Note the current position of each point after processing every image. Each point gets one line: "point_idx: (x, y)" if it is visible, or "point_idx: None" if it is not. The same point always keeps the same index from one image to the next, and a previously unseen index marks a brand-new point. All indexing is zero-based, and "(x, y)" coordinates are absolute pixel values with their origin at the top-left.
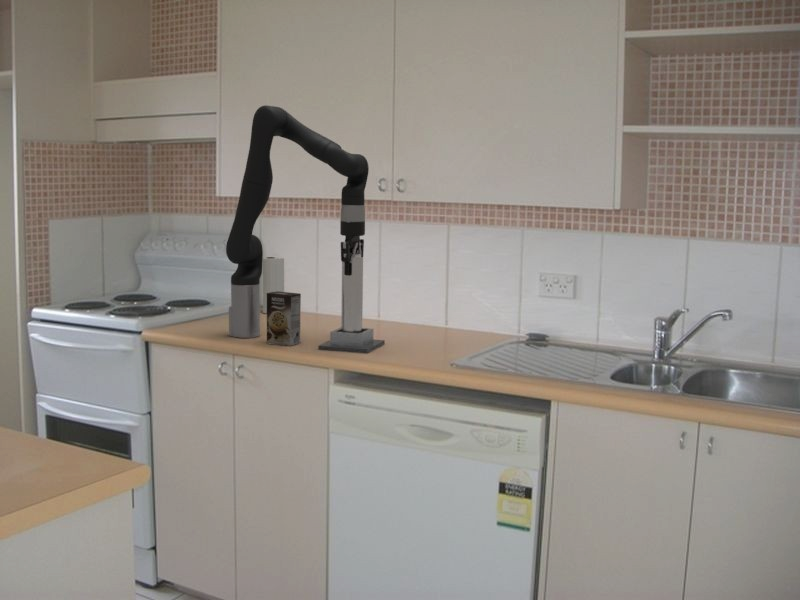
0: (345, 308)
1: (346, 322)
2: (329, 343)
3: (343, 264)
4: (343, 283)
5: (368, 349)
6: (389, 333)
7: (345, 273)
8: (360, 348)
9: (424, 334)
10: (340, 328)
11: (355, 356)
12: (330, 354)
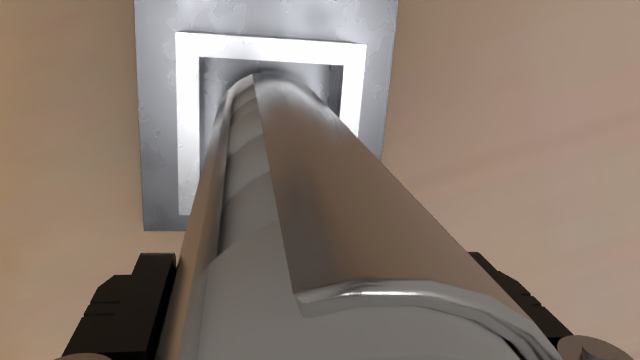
0: (209, 141)
1: (212, 128)
2: (211, 16)
3: (187, 284)
4: (209, 176)
5: (159, 229)
6: (604, 170)
7: (115, 282)
8: (153, 197)
9: (600, 298)
10: (302, 52)
11: (63, 198)
12: (50, 78)
